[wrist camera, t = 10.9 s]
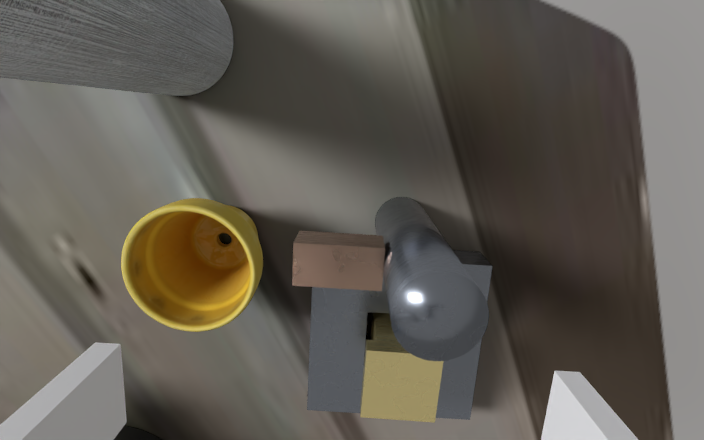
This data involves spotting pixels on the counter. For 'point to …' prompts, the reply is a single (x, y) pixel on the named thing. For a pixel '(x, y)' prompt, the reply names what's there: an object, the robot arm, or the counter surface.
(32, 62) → the vase
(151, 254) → the plant pot
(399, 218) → the gray post stand
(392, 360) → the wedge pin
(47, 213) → the counter surface
